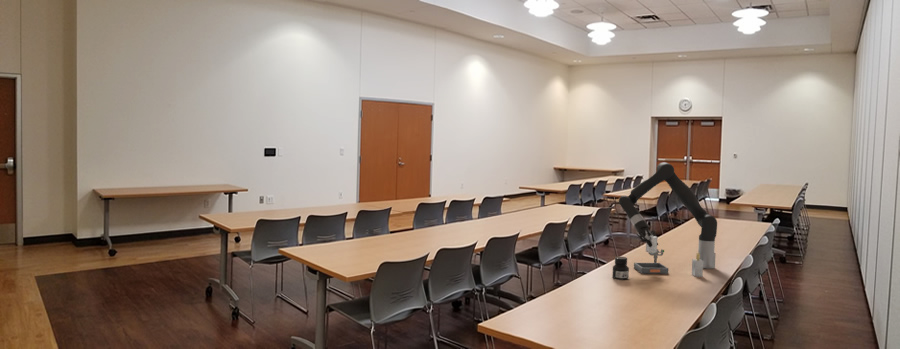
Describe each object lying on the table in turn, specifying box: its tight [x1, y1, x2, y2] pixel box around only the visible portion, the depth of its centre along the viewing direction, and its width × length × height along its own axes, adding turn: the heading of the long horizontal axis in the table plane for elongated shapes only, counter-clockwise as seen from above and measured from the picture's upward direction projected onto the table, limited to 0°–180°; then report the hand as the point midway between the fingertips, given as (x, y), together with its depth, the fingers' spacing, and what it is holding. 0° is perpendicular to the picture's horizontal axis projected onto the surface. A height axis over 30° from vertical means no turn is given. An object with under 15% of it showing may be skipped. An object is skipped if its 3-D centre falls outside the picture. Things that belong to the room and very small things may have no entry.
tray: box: [633, 262, 669, 275], centre depth 346 cm, size 16×14×4 cm
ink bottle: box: [611, 256, 630, 281], centre depth 327 cm, size 10×9×12 cm
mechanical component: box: [647, 248, 665, 263], centre depth 363 cm, size 3×10×10 cm, turn 89°
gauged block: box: [691, 252, 704, 278], centre depth 336 cm, size 4×4×14 cm
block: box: [645, 235, 658, 253], centre depth 345 cm, size 4×4×10 cm
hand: (654, 245), depth 343 cm, fingers closed on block, 4 cm apart
